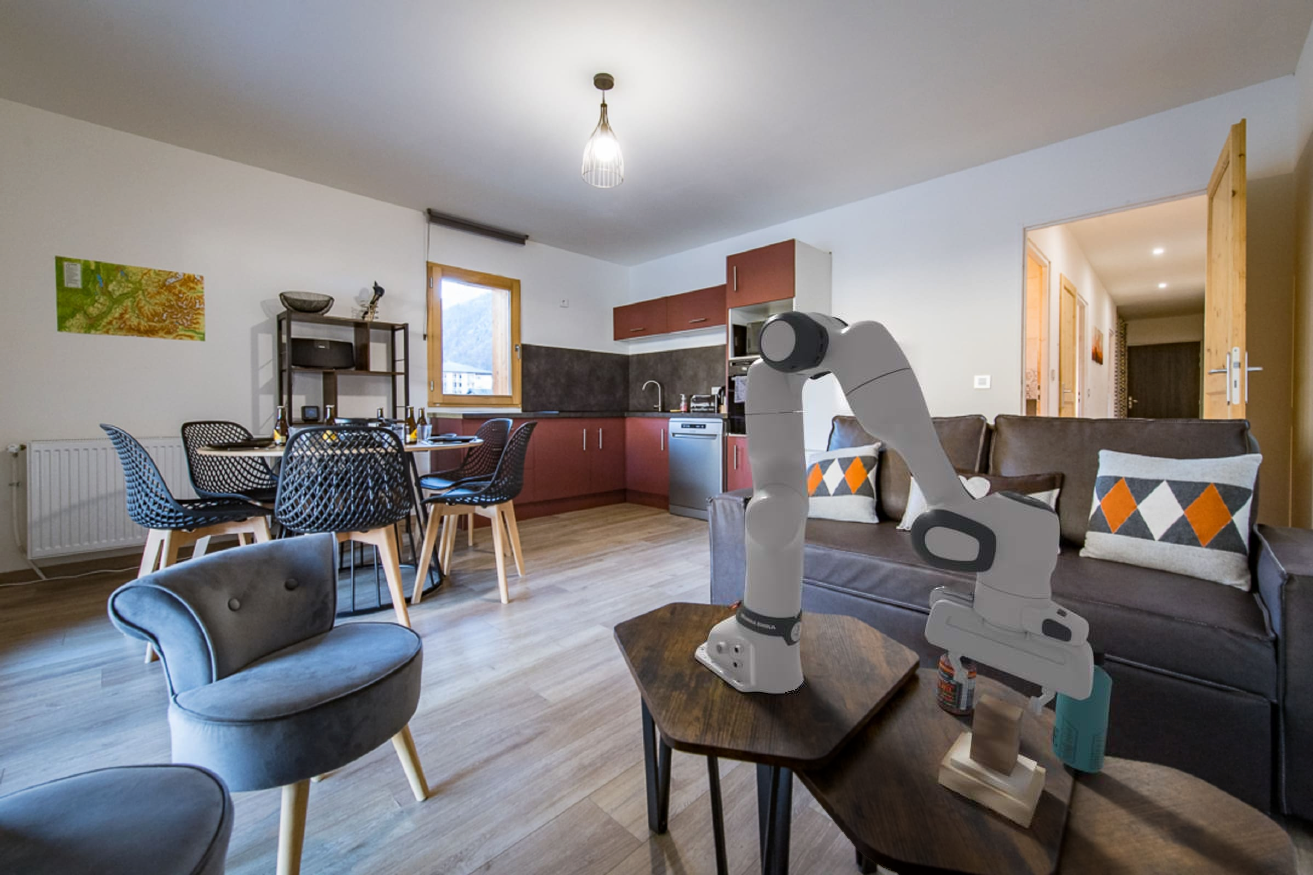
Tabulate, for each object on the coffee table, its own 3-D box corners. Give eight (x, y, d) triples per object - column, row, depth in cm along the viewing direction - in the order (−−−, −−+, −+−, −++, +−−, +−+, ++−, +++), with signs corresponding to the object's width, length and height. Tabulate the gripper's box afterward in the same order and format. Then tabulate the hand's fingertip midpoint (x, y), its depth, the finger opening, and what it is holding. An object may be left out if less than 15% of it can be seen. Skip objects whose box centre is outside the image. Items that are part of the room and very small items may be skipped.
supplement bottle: (928, 700, 97) (933, 643, 96) (949, 694, 99) (954, 638, 98) (958, 719, 91) (964, 658, 90) (979, 712, 94) (985, 653, 93)
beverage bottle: (1112, 786, 77) (1129, 658, 75) (1062, 778, 78) (1077, 652, 76) (1085, 757, 83) (1100, 638, 81) (1039, 749, 84) (1053, 632, 83)
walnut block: (969, 757, 76) (974, 706, 75) (978, 743, 79) (983, 693, 78) (1009, 777, 72) (1015, 723, 71) (1017, 760, 75) (1023, 709, 75)
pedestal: (938, 782, 76) (940, 756, 75) (960, 749, 83) (962, 725, 83) (1028, 829, 68) (1031, 801, 68) (1043, 788, 76) (1046, 762, 75)
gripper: (925, 586, 79) (913, 671, 80) (1098, 640, 64) (1081, 742, 66) (938, 578, 83) (927, 658, 85) (1103, 626, 69) (1087, 722, 70)
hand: (995, 695), depth 75 cm, fingers open, 8 cm apart
